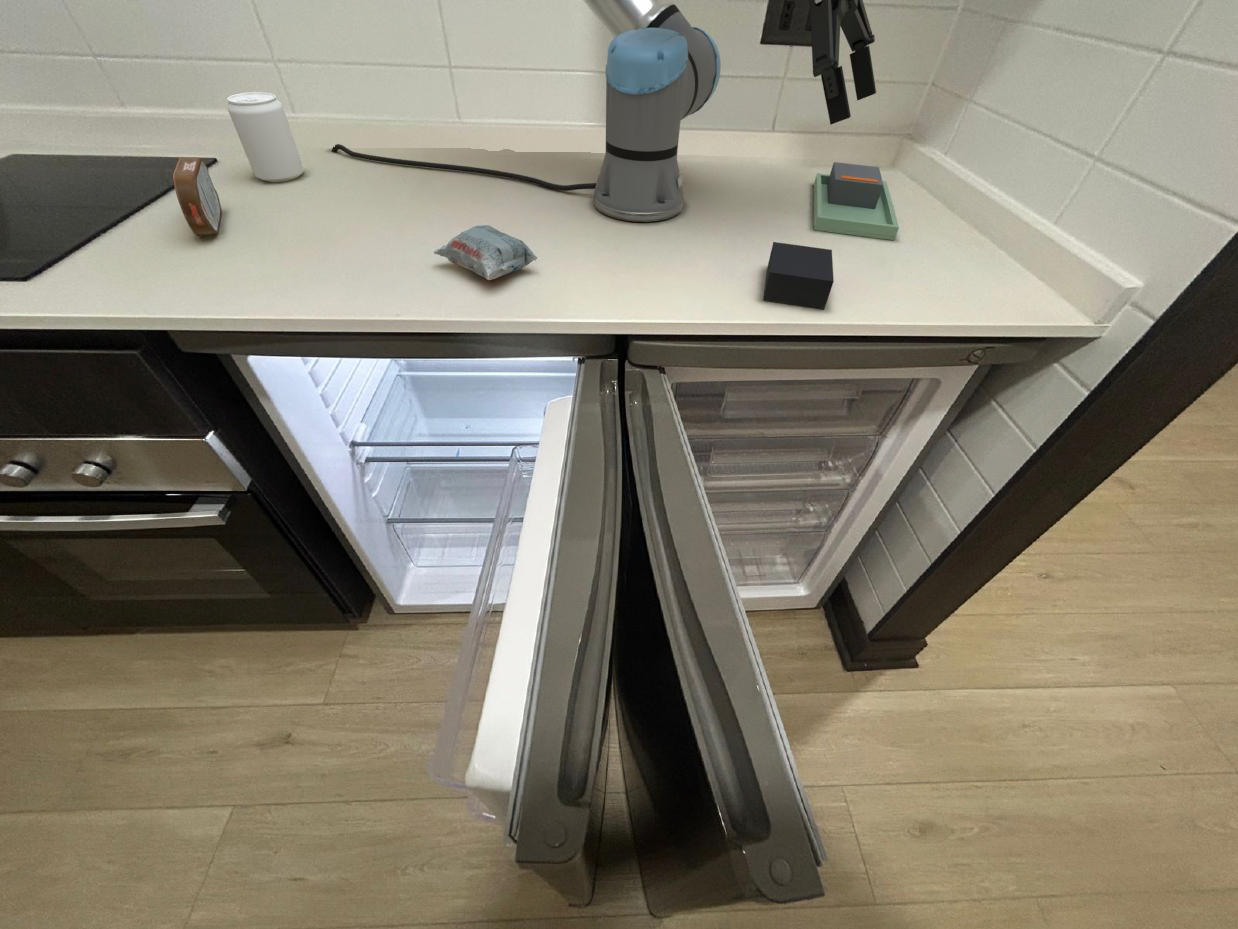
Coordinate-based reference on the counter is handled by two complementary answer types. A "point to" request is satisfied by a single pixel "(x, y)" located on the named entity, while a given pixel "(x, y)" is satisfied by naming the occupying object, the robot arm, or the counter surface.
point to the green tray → (854, 214)
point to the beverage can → (265, 136)
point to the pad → (854, 185)
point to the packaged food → (487, 252)
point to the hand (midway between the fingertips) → (854, 108)
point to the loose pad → (799, 275)
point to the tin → (197, 196)
